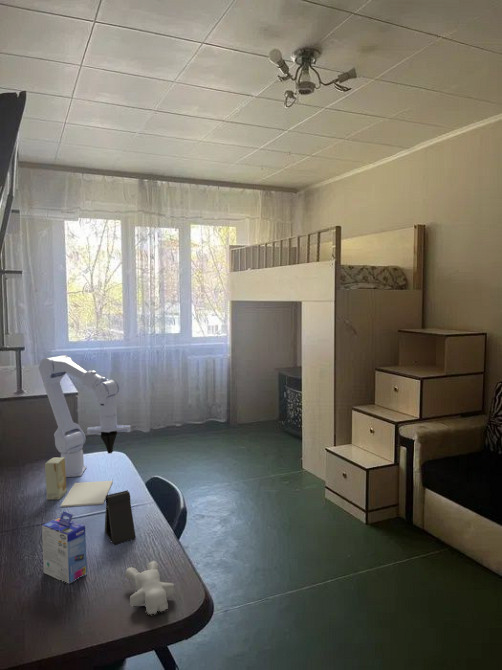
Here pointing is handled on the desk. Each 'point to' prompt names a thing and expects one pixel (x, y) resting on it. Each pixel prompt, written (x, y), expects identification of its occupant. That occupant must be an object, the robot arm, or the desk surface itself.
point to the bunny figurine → (149, 588)
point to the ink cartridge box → (64, 548)
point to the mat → (87, 493)
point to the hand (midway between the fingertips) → (110, 452)
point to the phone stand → (119, 517)
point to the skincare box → (55, 478)
